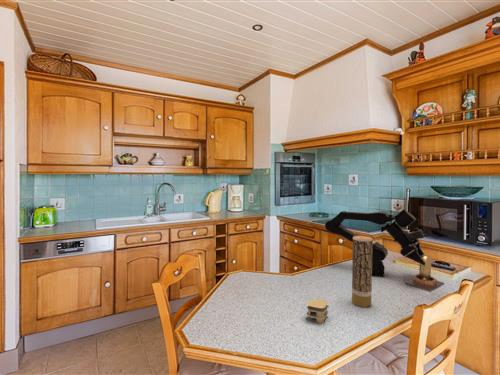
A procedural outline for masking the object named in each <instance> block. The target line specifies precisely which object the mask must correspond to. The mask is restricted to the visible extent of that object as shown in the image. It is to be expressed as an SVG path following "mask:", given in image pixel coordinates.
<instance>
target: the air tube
mask: <svg viewBox="0 0 500 375" xmlns="http://www.w3.org/2000/svg"><path fill="white" fill-rule="evenodd" d="M420 257H421V258H422V259H423V261H424V262H425V264H424V265H422V264H420V263H418V264H419V265H418V274H419V279H422V280H427V281H431V277H432V256H431V255H429V254H425V255H420Z"/></svg>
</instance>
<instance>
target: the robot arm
mask: <svg viewBox="0 0 500 375" xmlns="http://www.w3.org/2000/svg"><path fill="white" fill-rule="evenodd" d="M345 220H353V221H364V222H370V223H372V224H377V225H381V226H380V233H384V232H385V231H386V232H387V233H388V234H389V236H391V237H392V238H393V241H394V242H397V243H398V245H399V246H400V248H401V249H400V250H399V252H400V255H402V257H404V258H407V259H410V260H412V261H414V262H416V263H417V264H419V263H420V264H422V265H424V264H425V262H424V261H423V259H422V258H421V257H420V255H426V254H425V253H424V251H423V250H422V248H421V241H420V239H423V238H425V234H424V231H423V229H419V228H418V227H414V228H413V229H412V230H413V231H411V232H408V231H406V230H405V231H404V229H402V228H408V227H409V226H410V225H411V224H413V223H414V222H415V221H417V218H416V217H415V216H414V215H413V214H412V213H410V212H409V211H407V210H406V209H404V208H403V209H402V210H401V211H400V212H399V213H397V215H394V214H389V213H388V212H387V211H383V210H382V211H374V212H361V211H360V212H359V211H346V210H342V211H339V213H338V214H337V215H336V216H334V217H333V218H332V219H331V220H328V221H326V222H325V224H324V227H325V230H326V231H327V232H330V233H332V234H334V235H339V236H341V237H343V238H344V239H346V240H348V241H349V242H351V243H353V237H354V236H359V235H358V234H356V233H354V232H353V231H351V230H349V229H348V228H346V227H345V226H344V225H343V224H342V223H343V222H344V221H345ZM388 254H389V252H388V249H387V247H385V245H382V244H381V243H380V242H378V241H375V242H372V277H373V276H374V277H382V278H383V277H385V265H384V262H383V261H384V260H385V259H386V258H387V256H388Z"/></svg>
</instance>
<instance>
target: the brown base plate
mask: <svg viewBox="0 0 500 375" xmlns="http://www.w3.org/2000/svg"><path fill="white" fill-rule="evenodd" d="M404 284H405V285H407V286H411V287H414V288H417V289H420V290H424V291H427V292H432V291H434V290H436V289H438V288H439V287H441V286H443V285H444V284H445V282H443V281H440V280H438V279H437V278H435V277H433V276H431V281H427V280H422V279H419V273H416V274H414V275H413V276H412V279H410V280H408V281H405V282H404Z"/></svg>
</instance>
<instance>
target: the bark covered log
mask: <svg viewBox="0 0 500 375" xmlns="http://www.w3.org/2000/svg"><path fill="white" fill-rule="evenodd" d="M372 243H373V238H372V237H371V236H366V235H358V236H354V237H353V242H352V262H351V264H352V265H351V266H352V269H351V271H352V272H351V273H352V274H351V278H352V279H351V283H352V284H351V303H352V304H354V305H356V306H357V307H361V308H368V307H370V306H371V305H372V293H373V292H372V290H373V288H372V287H373V286H372V285H373V276H372Z"/></svg>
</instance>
